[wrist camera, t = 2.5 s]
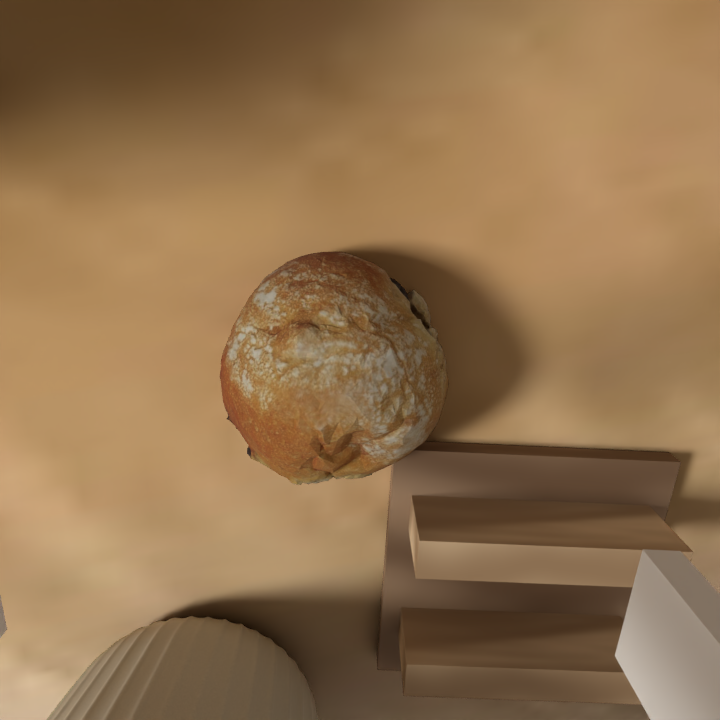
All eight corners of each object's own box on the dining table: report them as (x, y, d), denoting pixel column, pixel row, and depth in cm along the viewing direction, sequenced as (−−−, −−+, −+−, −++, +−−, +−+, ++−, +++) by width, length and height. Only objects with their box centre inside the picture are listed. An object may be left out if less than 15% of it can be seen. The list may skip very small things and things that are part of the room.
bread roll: (444, 353, 28) (531, 342, 20) (337, 513, 26) (388, 569, 18) (300, 238, 26) (336, 177, 18) (173, 401, 24) (152, 410, 16)
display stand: (393, 439, 25) (400, 489, 21) (668, 452, 25) (731, 503, 21) (376, 654, 29) (379, 732, 25) (612, 663, 30) (655, 741, 25)
